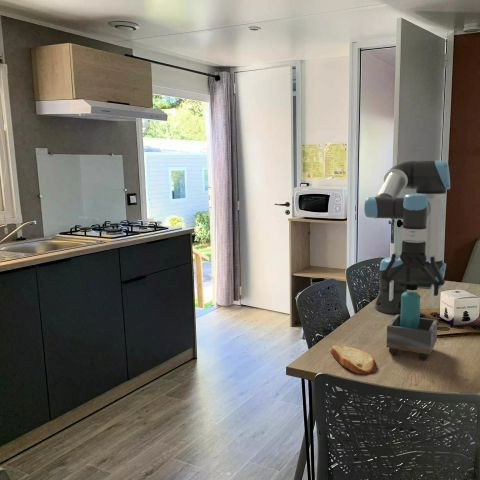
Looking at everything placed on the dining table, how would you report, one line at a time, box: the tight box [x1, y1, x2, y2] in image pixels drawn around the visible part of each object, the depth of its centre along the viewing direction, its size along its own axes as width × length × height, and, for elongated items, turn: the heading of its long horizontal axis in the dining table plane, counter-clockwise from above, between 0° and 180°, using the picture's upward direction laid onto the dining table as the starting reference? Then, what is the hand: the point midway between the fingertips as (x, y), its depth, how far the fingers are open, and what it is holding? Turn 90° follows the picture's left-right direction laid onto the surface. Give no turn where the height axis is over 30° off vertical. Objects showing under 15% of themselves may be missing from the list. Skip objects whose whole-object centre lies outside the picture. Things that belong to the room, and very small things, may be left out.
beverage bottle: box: [399, 282, 421, 330], centre depth 171 cm, size 6×7×20 cm
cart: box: [386, 314, 438, 362], centre depth 172 cm, size 14×14×10 cm
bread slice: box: [329, 344, 378, 376], centre depth 166 cm, size 18×18×4 cm
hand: (411, 302), depth 170 cm, fingers open, 13 cm apart
